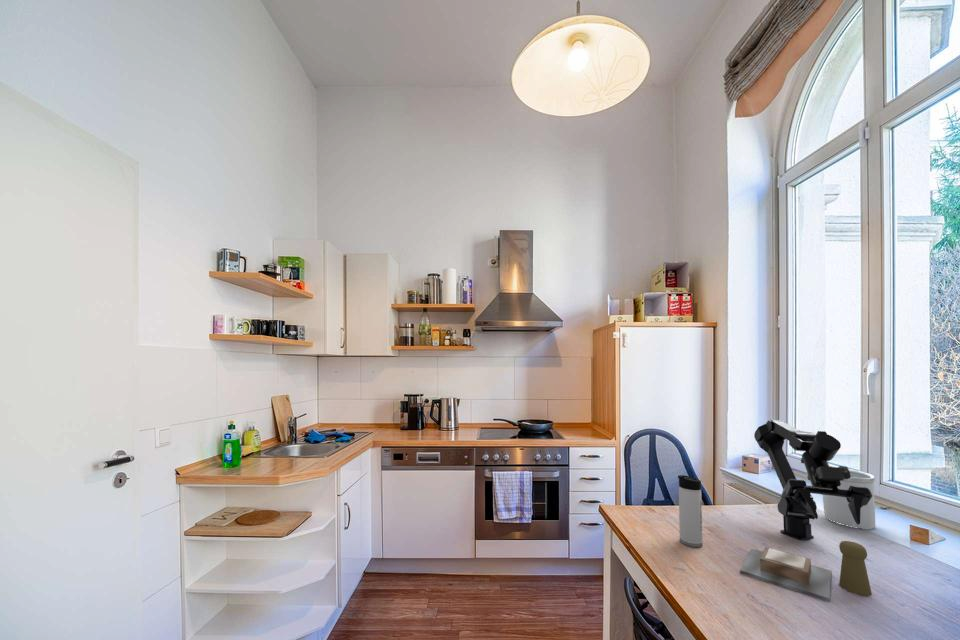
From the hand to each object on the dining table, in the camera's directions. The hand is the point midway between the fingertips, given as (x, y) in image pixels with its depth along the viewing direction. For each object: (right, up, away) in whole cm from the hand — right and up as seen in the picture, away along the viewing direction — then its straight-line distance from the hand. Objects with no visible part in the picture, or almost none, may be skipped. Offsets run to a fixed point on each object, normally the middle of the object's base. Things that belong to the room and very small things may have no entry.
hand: (837, 521), depth 111 cm
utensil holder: (+36, -18, +36) cm, 54 cm away
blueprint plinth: (-16, -13, -2) cm, 20 cm away
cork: (-3, -13, -9) cm, 16 cm away
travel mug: (-32, -14, +15) cm, 38 cm away
